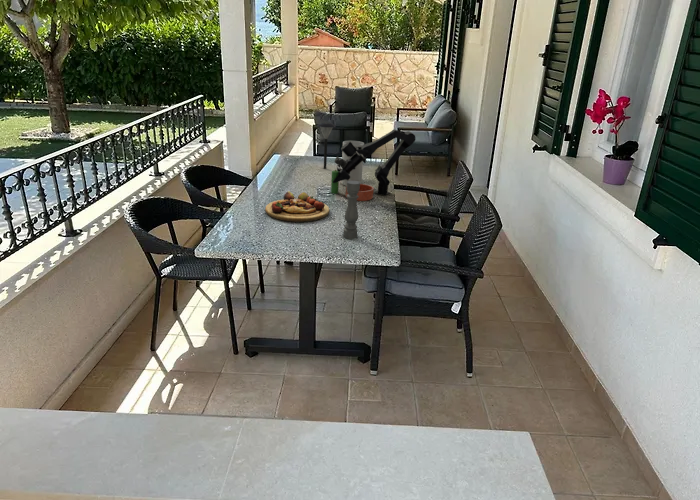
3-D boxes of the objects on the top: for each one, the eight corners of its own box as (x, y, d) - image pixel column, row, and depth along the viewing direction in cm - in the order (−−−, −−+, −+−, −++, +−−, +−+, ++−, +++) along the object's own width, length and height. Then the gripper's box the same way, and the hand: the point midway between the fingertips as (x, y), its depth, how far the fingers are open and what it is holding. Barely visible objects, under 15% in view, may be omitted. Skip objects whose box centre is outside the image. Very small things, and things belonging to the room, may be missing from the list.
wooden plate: (278, 226, 233) (278, 209, 230) (256, 205, 259) (256, 190, 256) (340, 218, 247) (340, 202, 244) (314, 199, 273) (314, 185, 270)
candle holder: (342, 233, 229) (345, 180, 219) (356, 234, 230) (359, 180, 220) (343, 238, 223) (346, 184, 213) (357, 239, 224) (361, 184, 214)
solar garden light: (317, 165, 345) (319, 120, 333) (335, 167, 343) (337, 122, 332) (314, 169, 333) (315, 123, 322) (332, 171, 332) (334, 125, 320)
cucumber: (333, 191, 291) (334, 168, 285) (339, 192, 289) (340, 169, 284) (329, 192, 287) (330, 170, 282) (335, 194, 285) (336, 171, 280)
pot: (354, 191, 293) (354, 182, 290) (377, 196, 285) (378, 187, 283) (339, 197, 280) (340, 187, 278) (364, 203, 273) (365, 193, 271)
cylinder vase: (350, 188, 298) (352, 145, 289) (336, 183, 307) (338, 141, 297) (365, 185, 306) (368, 143, 296) (352, 180, 315) (354, 140, 305)
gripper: (341, 148, 288) (321, 167, 291) (345, 155, 271) (324, 175, 274) (354, 162, 292) (334, 180, 295) (358, 170, 275) (337, 189, 278)
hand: (332, 181), depth 285 cm, fingers closed on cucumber, 4 cm apart
